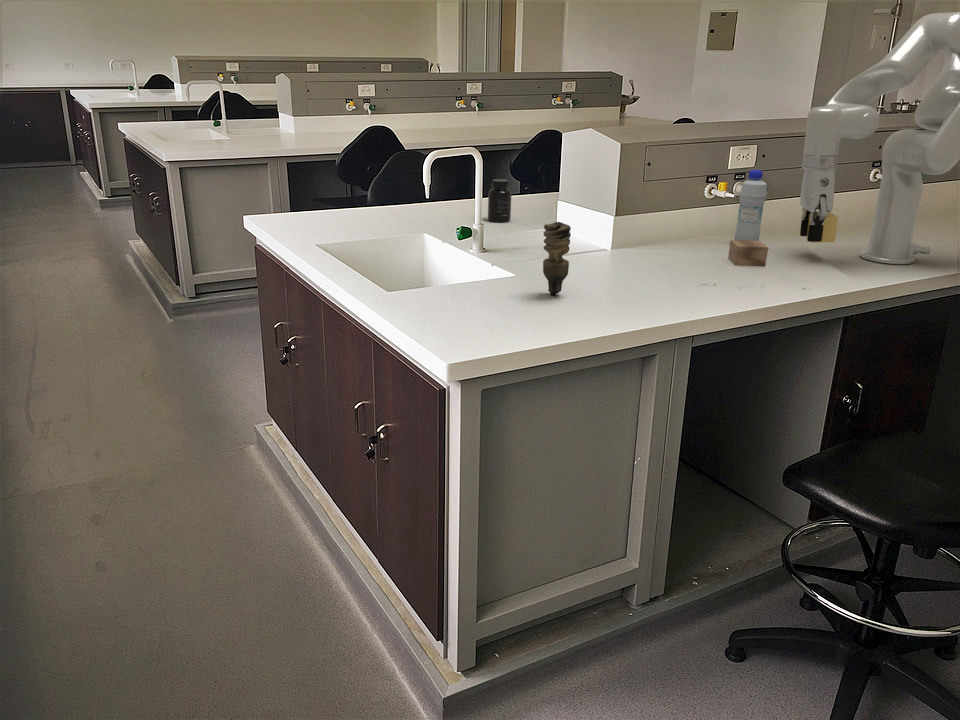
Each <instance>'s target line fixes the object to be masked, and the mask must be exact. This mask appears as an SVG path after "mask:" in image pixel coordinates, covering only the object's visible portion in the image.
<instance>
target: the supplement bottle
mask: <svg viewBox="0 0 960 720" xmlns="http://www.w3.org/2000/svg"><path fill="white" fill-rule="evenodd" d="M491 182H492V183H491V187H492V188H491V189H490V190H489V191H488V196H487V197H488V199H487V200H488V201H487V202H488V203H487V220H488V221H489V222H491V223H497V224H503V223H509V222H510V221H511V216H512V213H511V212H512V192H511V191H512V190H510V189H509V187H510V186H509V180H508V179H504V178H503V179H502V178H496V179H492V180H491Z"/></svg>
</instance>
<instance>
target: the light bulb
mask: <svg viewBox="0 0 960 720" xmlns="http://www.w3.org/2000/svg"><path fill="white" fill-rule="evenodd" d="M543 229H544V230H545V231H543V236H544V237H545V239H543V243H544V244H545V245H544V246H543V250H544V251H546V253H548V258H545V259H543V260H542V262H543V263H542V273H543V276H544V277H545V278H546V280H547V284H548V289H547V291H548V292H549V294H550V296H556V295H557V294H559V293H560V292H562V288H563V287H562V286H563V281H564V280H565V279H566V278H567V276H568V274H569V269H570V261H569V260H568V259H565V258H563V256H564V255H566V254H568V253H569V251H570V246H569V245H570V244H571V240H570V238H571V234H572V233H571V229H572V228H571V226H570V224H567V223H564V222H562V221H561V222H560V221H555V222H552V223H549V224H547V223H546V224H544V225H543Z"/></svg>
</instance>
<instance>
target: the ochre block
mask: <svg viewBox="0 0 960 720" xmlns="http://www.w3.org/2000/svg"><path fill="white" fill-rule="evenodd" d="M816 216H817V215H815V218H816ZM838 219H839V217H838V216H837V215H835V214H833V213H832V212H827V216H826V217H825V220H824V226H823V234H822V241H820V242H819V243H835V242H836V236H837V227H838ZM809 225H811V213H810V214H809V223H808V230H809ZM807 238H808V232H807V236H806V239H807ZM812 243H815V242H812Z"/></svg>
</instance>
